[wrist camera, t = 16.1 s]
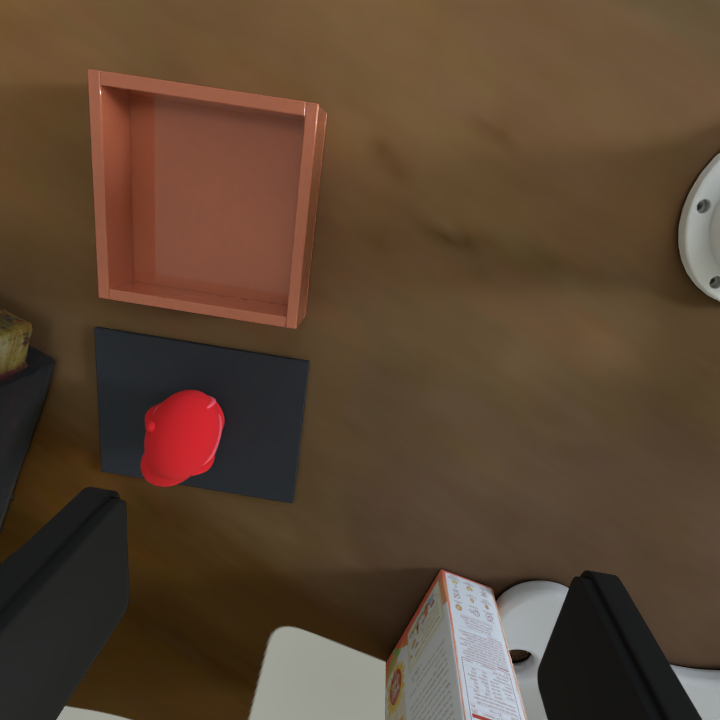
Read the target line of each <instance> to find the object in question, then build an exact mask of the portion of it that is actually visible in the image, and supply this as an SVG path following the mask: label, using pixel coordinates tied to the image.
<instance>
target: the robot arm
mask: <svg viewBox="0 0 720 720" xmlns="http://www.w3.org/2000/svg"><path fill="white" fill-rule="evenodd" d="M698 204H699V207H698V208H697V205H698ZM678 246H679V251H680V257H681V261H682V263H683V265H684V268H685V270H686V272H687V274H688V276H689V277H690V278H691V280H692V281H693V282H694V284H695V285H696V286H697V287H698V288H699V289H700V290H702V291H703V292H704V293H705V294H706V295H708V296H710V297H712V298H714V299H716V300H718V301H720V153H719V154H718V155H716V156H715V157H714V158H713V160H712V161H711V162H710V163H709V164H708V165H707V167H706V168H705V169H704V170H703V171H702V172H701V174H700V175H699V177H698V179H697V180H696V182H695V183H694V185H693V187H692V188H691V190H690V192H689V194H688V197H687V199H686V202H685V204H684V206H683V209H682V214H681V218H680V223H679V230H678ZM710 280H711V281H710ZM128 602H129V573H128V544H127V514H126V502H125V501H124V500H120V497H119V494H118V492H116V491H111V490H105V489H99V488H93V487H87V488H85V489H84V490H82V491H81V492H80V493H79V494H78V495H77V496H76V497H75V498H74V499H73V500H71V501H70V502H69V503H68V504H67V505H66V506H65V507H64V508H63V509H62V510H61V511H60V512H59V513H58V514H57V515H55V516H54V517H53V518H52V519H51V520H50V521H49V522H48V523H47V524H46V525H45V526H44V527H43V528H42V529H41V530H40V531H38V532H37V533H36V534H35V535H34V536H33V537H32V538H31V539H30V540H29V541H28V542H27V543H26V544H25V545H24V546H22V547H21V548H20V549H19V550H17V551H16V552H14V553H13V554H12V555H10V556H9V557H8V558H7V559H6V560H5V561H4V562H3V563H2V564H1V565H0V720H56V719H57V717H58V716H59V714H60V713H61V711H62V710H63V708H64V707H65V705H66V703H67V702H68V700H69V699H70V697H71V696H72V694H73V693H74V691H75V690H76V688H77V687H78V685H79V683H80V682H81V680H82V679H83V677H84V676H85V674H86V673H87V671H88V670H89V668H90V666H91V665H92V663H93V662H94V660H95V659H96V657H97V656H98V654H99V653H100V651H101V649H102V648H103V646H104V645H105V643H106V642H107V640H108V639H109V637H110V636H111V634H112V633H113V631H114V629H115V628H116V626H117V625H118V623H119V622H120V620H121V619H122V617H123V615H124V613H125V611H126V609H127V606H128ZM537 681H538V688H539V692H540V695H541V699H542V702H543V706H544V709H545V712H546V716H547V719H548V720H702V718H701V716H700V715H699V713H698V711H697V710H696V708H695V706H694V705H693V703H692V701H691V699H690V698H689V696H688V694H687V693H686V691H685V689H684V687H683V686H682V684H681V682H680V681H679V679H678V677H677V676H676V674H675V672H674V670H673V669H672V667H671V666H670V664H669V662H668V660H667V659H666V657H665V655H664V654H663V652H662V650H661V649H660V647H659V645H658V643H657V642H656V640H655V638H654V637H653V635H652V633H651V631H650V630H649V628H648V626H647V625H646V623H645V621H644V620H643V618H642V616H641V614H640V613H639V611H638V609H637V608H636V606H635V604H634V602H633V601H632V599H631V597H630V596H629V594H628V592H627V590H626V589H625V587H624V585H623V584H622V582H621V581H620V579H619V578H618V577H617V576H615V575H611V574H605V573H599V572H593V571H584V572H583V573H582V574H581V576H580V577H574V578H573V580H572V582H571V584H570V587H569V590H568V592H567V595H566V597H565V600H564V603H563V605H562V608H561V610H560V613H559V615H558V618H557V621H556V623H555V626H554V628H553V631H552V634H551V636H550V639H549V641H548V644H547V646H546V649H545V652H544V654H543V657H542V659H541V662H540V665H539V668H538V673H537Z"/></svg>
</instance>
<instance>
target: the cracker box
mask: <svg viewBox="0 0 720 720" xmlns="http://www.w3.org/2000/svg"><path fill="white" fill-rule="evenodd" d="M385 720H527V717H526V713H525V710H524V706H523V702H522V698H521V694H520V691H519V687H518V683H517V679H516V676H515V672H514V668H513V664H512V660H511V657H510V653H509V649H508V645H507V642H506V638H505V634H504V630H503V626H502V623H501V619H500V615H499V612H498V608H497V604H496V601H495V596H494V593H493V589H492V588H491V587H488V586H486V585H483V584H480V583H477V582H474V581H472V580H469V579H467V578H464V577H461V576H459V575H456V574H453V573H451V572H448V571H445V570H442V569H441V570H440V571H439V573H438V575H437V577H436V578H435V580H434V582H433V583H432V585H431V587H430V588H429V590H428V592H427V593H426V595H425V597H424V599H423V600H422V602H421V604H420V605H419V607H418V609H417V611H416V612H415V614H414V616H413V618H412V619H411V621H410V623H409V624H408V626H407V628H406V629H405V631H404V633H403V635H402V636H401V638H400V640H399V642H398V643H397V645H396V647H395V648H394V650H393V652H392V653H391V655H390V657H389V658H388V660H387V662H386V697H385Z"/></svg>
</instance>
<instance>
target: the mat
mask: <svg viewBox="0 0 720 720" xmlns="http://www.w3.org/2000/svg"><path fill="white" fill-rule="evenodd" d="M94 331H95V350H96V369H97V387H98V406H99V425H100V443H101V462H102V471H103V472H109V473H115V474H121V475H126V476H132V477H138V478H144V477H143V475H142V472H141V459H142V457H143V454H144V453H145V450H144V440H145V433H146V429H145V414H146V412H147V411H148V410H149V409H150V408H151V407H153V406H155V405H157V404H159V403H161V402H163V401H165V400H166V399H167V398H168V397H170V396H171V395H173V394H175V393H177V392H180V391H183V390H198V391H201V392H203V393H205V394H206V395H209V396H212V397H213V398H215V399H216V402H217V403H218V404H219V406H220V407H221V409H222V412H223V414H224V427H223V430H222V432H221V437H220V441H219V444H218V447H217V450H216V452H215V458H214V462H213V464H212V466H211V467H210V469H208V470H207V471H206V472H204V473H201V474H198V475H194V476H190V477H188V478H187V479H186V480H184V481H183V482H181V483H179V484H180V485H186V486H192V487H198V488H204V489H210V490H216V491H222V492H228V493H234V494H240V495H246V496H252V497H258V498H264V499H270V500H276V501H282V502H288V503H293V501H294V492H295V483H296V474H297V466H298V457H299V448H300V439H301V430H302V422H303V413H304V404H305V395H306V387H307V378H308V369H309V361H307V360H300V359H294V358H288V357H282V356H276V355H269V354H263V353H257V352H251V351H245V350H238V349H232V348H226V347H220V346H213V345H207V344H201V343H195V342H189V341H182V340H176V339H170V338H164V337H158V336H151V335H145V334H139V333H133V332H127V331H120V330H114V329H108V328H102V327H95V328H94ZM144 479H145V478H144Z"/></svg>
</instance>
